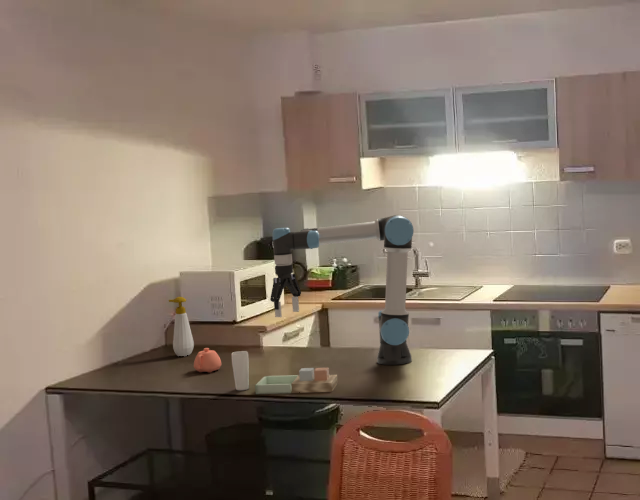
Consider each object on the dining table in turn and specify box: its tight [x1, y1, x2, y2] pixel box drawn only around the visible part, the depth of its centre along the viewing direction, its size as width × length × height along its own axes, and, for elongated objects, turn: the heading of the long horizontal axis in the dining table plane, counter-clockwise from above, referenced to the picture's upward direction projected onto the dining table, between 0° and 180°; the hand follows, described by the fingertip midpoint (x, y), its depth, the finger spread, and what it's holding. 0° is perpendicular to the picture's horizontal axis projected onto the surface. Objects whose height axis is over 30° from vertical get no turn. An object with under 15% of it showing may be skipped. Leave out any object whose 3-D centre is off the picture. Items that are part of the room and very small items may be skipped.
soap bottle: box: [168, 296, 195, 357], centre depth 454 cm, size 13×10×29 cm
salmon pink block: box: [314, 367, 330, 381], centre depth 368 cm, size 5×5×4 cm
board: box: [291, 374, 339, 394], centre depth 368 cm, size 16×14×4 cm
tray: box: [254, 374, 299, 395], centre depth 371 cm, size 14×16×4 cm
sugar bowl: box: [193, 347, 222, 374], centre depth 414 cm, size 12×14×10 cm
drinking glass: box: [231, 350, 250, 392], centre depth 374 cm, size 7×7×15 cm
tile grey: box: [298, 367, 315, 381], centre depth 369 cm, size 5×5×4 cm
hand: (287, 314), depth 394 cm, fingers open, 13 cm apart
